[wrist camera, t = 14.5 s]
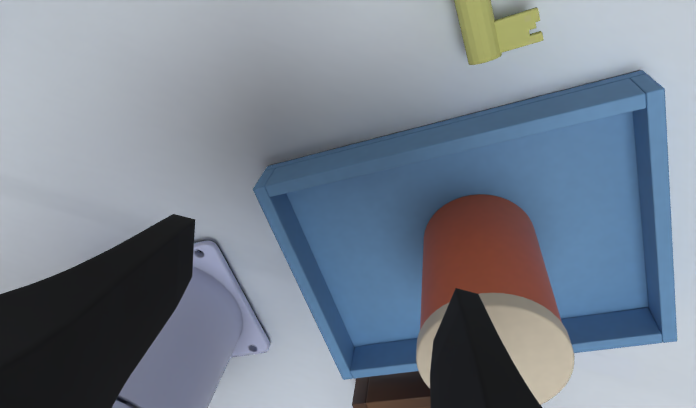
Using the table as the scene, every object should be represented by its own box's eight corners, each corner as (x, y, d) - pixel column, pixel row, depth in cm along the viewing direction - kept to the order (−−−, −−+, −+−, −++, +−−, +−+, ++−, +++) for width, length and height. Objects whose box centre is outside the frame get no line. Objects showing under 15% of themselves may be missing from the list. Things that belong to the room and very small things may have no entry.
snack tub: (440, 294, 26) (441, 422, 20) (406, 209, 24) (395, 323, 17) (548, 272, 24) (588, 404, 18) (523, 178, 22) (557, 291, 16)
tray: (349, 348, 30) (342, 380, 28) (266, 165, 24) (252, 189, 22) (658, 307, 25) (677, 341, 23) (642, 69, 20) (665, 88, 18)
